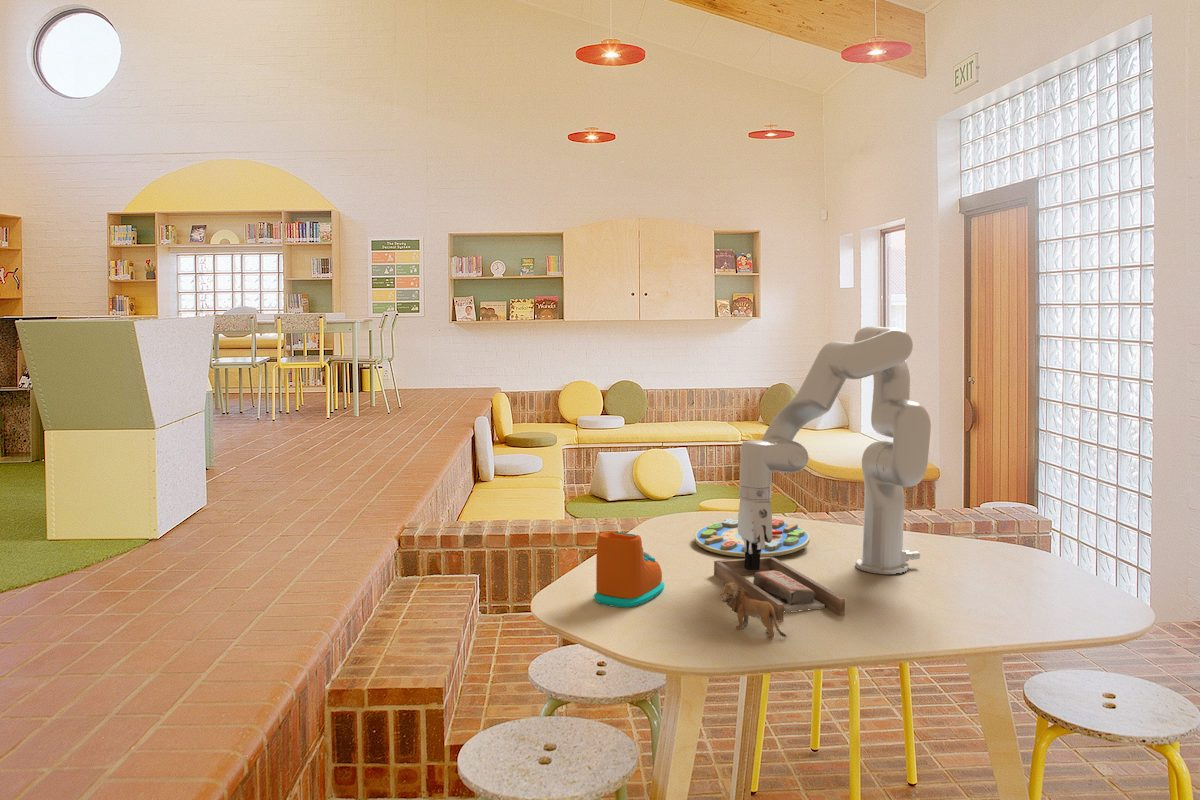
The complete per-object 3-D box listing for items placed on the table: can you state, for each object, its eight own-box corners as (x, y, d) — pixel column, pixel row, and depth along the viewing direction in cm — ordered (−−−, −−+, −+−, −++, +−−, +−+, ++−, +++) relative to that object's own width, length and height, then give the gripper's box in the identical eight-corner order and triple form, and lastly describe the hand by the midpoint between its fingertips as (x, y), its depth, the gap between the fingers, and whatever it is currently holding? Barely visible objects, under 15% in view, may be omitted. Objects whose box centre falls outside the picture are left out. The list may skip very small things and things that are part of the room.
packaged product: (745, 570, 228) (783, 567, 231) (745, 591, 228) (783, 587, 232) (785, 593, 211) (826, 588, 214) (784, 615, 211) (825, 610, 215)
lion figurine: (716, 626, 203) (716, 583, 202) (729, 620, 207) (730, 578, 206) (780, 642, 193) (781, 597, 192) (793, 635, 198) (794, 591, 197)
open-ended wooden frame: (772, 570, 244) (772, 556, 243) (844, 615, 210) (845, 598, 210) (714, 575, 239) (714, 560, 239) (778, 621, 206) (778, 604, 206)
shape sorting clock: (672, 547, 266) (672, 525, 266) (734, 527, 289) (734, 507, 289) (771, 568, 247) (772, 545, 246) (829, 545, 270) (830, 523, 269)
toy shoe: (673, 588, 229) (674, 524, 227) (634, 612, 212) (634, 543, 210) (627, 580, 235) (627, 518, 233) (585, 603, 218) (585, 536, 216)
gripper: (783, 498, 227) (780, 577, 229) (756, 486, 242) (753, 560, 244) (753, 499, 225) (750, 578, 227) (727, 487, 240) (724, 561, 241)
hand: (751, 569), depth 235 cm, fingers closed
